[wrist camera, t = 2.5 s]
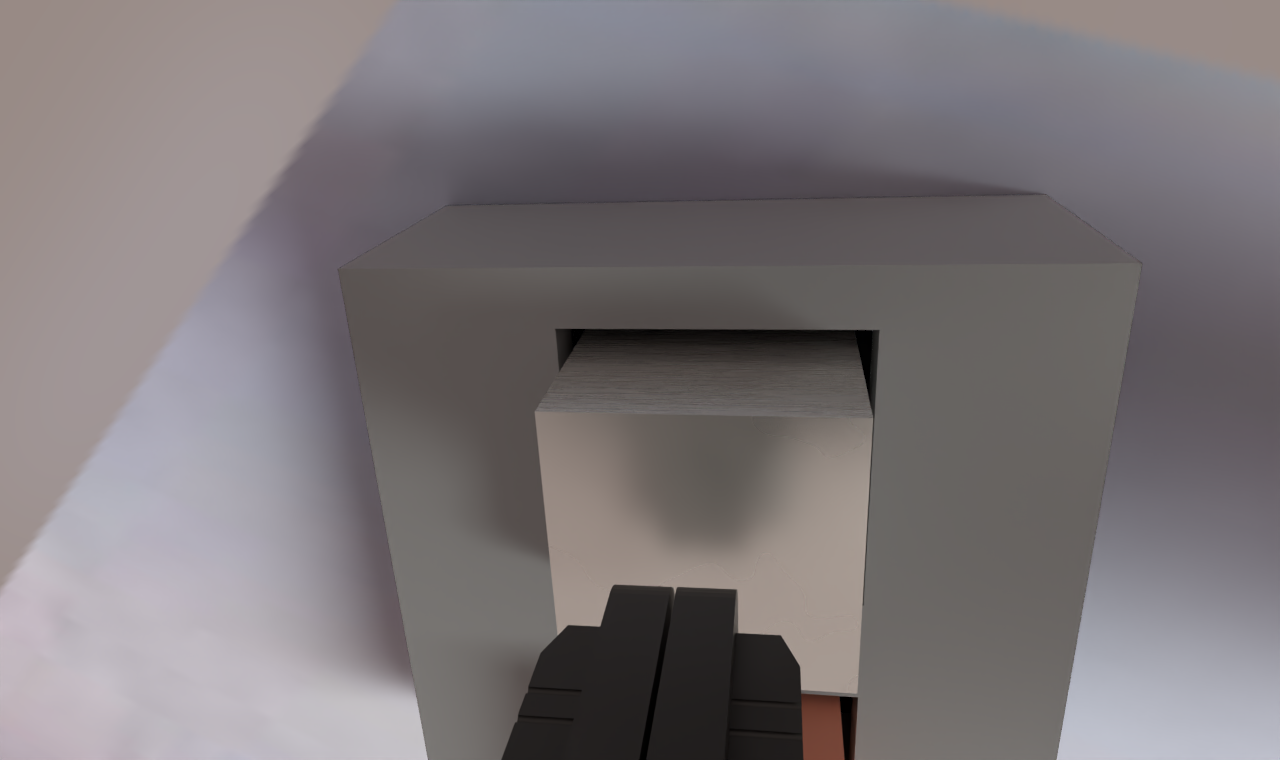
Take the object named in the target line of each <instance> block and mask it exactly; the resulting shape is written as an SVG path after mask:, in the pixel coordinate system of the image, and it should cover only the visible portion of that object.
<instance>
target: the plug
mask: <svg viewBox="0 0 1280 760" xmlns="http://www.w3.org/2000/svg"><path fill="white" fill-rule="evenodd" d="M535 420H536V430H537V439H538V449H539V459H540V468H541V478H542V488H543V498H544V507H545V517H546V527H547V537H548V546H549V556H550V566H551V576H552V585H553V595H554V605H555V614H556V624H557V634H558V635H559V634H560V633H561V632H562V631H563V630H564V629H565V628H566V627H567V625H579V626H599V627H600V626H601V622H602V619H603V615H604V612H605V608H606V605H607V601H608V598H609V594H610V591H611V588H612V586H613V585H615V584H616V585H639V586H663V587H673V588H674V592H675V593H676V589H677V587H693V588H717V589H737V592H738V633H746V634H767V635H781V636H782V638H783V639H784V641H785V643H786V644H787V646H788V647H789V649H790V651H791V652H792V654H793V656H794V657H795V659H796V661H797V662H798V664H799V665H800V672H801V690H809V691H824V692H839V693H854V694H857V690H858V673H859V656H860V638H861V621H862V604H863V586H864V569H865V552H866V534H867V517H868V500H869V483H870V465H871V448H872V431H873V415H872V410H871V406H870V401H869V396H868V392H867V387H866V382H865V378H864V373H863V369H862V364H861V359H860V355H859V350H858V345H857V341H856V336H855V331H854V330H759V329H586V330H585V331H584V333H583V335H582V336H581V338H580V339H579V341H578V343H577V344H576V346H575V348H574V349H573V351H572V352H571V354H570V356H569V357H568V359H567V360H566V362H565V364H564V365H563V367H562V368H561V370H560V372H559V373H558V375H557V377H556V378H555V380H554V381H553V383H552V385H551V386H550V388H549V389H548V391H547V393H546V394H545V396H544V398H543V399H542V401H541V402H540V404H539V406H538V407H537V409H536V410H535Z"/></svg>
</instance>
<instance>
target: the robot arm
mask: <svg viewBox="0 0 1280 760" xmlns="http://www.w3.org/2000/svg"><path fill="white" fill-rule="evenodd" d="M501 760H804V759H803V730H802V701H801V672H800V665H799V664H798V662H797V661H796V659H795V657H794V656H793V654H792V652H791V651H790V649H789V647H788V646H787V644H786V643H785V641H784V639H783V638H782V636H781V635H767V634H746V633H738V592H737V589H717V588H693V587H677V589H676V593H675V592H674V588H673V587H663V586H639V585H616V584H615V585H613V586H612V588H611V591H610V594H609V598H608V601H607V605H606V608H605V612H604V615H603V619H602V622H601V626H600V627H599V626H579V625H567V627H566V628H565V629H564V630H563V631H562V632H561V633H560V634H559V635H558V636H557V637H556V638H555V639H554V640H553V641H552V642H551V643H550V644H549V645H548V646H547V647H546V648H545V649H544V650H543V651H542V652H541V653H540V656H539V658H538V661H537V664H536V667H535V669H534V672H533V675H532V677H531V680H530V683H529V686H528V693H526V694H525V696H524V699H523V702H522V705H521V707H520V710H519V713H518V720H517V722H515V724H514V726H513V729H512V732H511V734H510V737H509V740H508V743H507V745H506V748H505V751H504V753H503V756H502V759H501Z"/></svg>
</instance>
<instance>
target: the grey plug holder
mask: <svg viewBox="0 0 1280 760" xmlns="http://www.w3.org/2000/svg"><path fill="white" fill-rule="evenodd" d="M1141 268H1142V263H1141V262H1140V261H1138V260H1137V259H1136V258H1134V257H1133V256H1131V255H1130V254H1129V253H1127V252H1126V251H1124V250H1123V249H1122V248H1120V247H1119V246H1117V245H1116V244H1115V243H1113V242H1112V241H1110V240H1109V239H1108V238H1106V237H1105V236H1103V235H1102V234H1101V233H1099V232H1098V231H1096V230H1095V229H1094V228H1092V227H1091V226H1089V225H1088V224H1087V223H1085V222H1084V221H1082V220H1081V219H1080V218H1078V217H1077V216H1075V215H1074V214H1073V213H1071V212H1070V211H1068V210H1067V209H1066V208H1064V207H1063V206H1061V205H1060V204H1059V203H1057V202H1056V201H1054V200H1053V199H1052V198H1050V197H1049V196H1047V195H1046V194H1036V195H982V196H929V197H875V198H821V199H768V200H714V201H660V202H607V203H553V204H500V205H447V206H445V207H443V208H441V209H440V210H438V211H436V212H435V213H433V214H431V215H429V216H428V217H426V218H424V219H423V220H421V221H419V222H417V223H416V224H414V225H412V226H411V227H409V228H407V229H406V230H404V231H402V232H400V233H399V234H397V235H395V236H394V237H392V238H390V239H388V240H387V241H385V242H383V243H382V244H380V245H378V246H376V247H375V248H373V249H371V250H370V251H368V252H366V253H364V254H363V255H361V256H359V257H358V258H356V259H354V260H352V261H351V262H349V263H347V264H346V265H344V266H342V267H340V268H339V269H338V271H339V277H340V282H341V288H342V293H343V299H344V304H345V310H346V315H347V320H348V326H349V331H350V337H351V342H352V348H353V353H354V359H355V364H356V370H357V375H358V380H359V386H360V391H361V397H362V402H363V408H364V413H365V419H366V424H367V429H368V435H369V440H370V446H371V451H372V457H373V462H374V468H375V473H376V479H377V484H378V489H379V495H380V500H381V506H382V511H383V517H384V522H385V528H386V533H387V539H388V544H389V549H390V555H391V560H392V566H393V571H394V577H395V582H396V588H397V593H398V598H399V604H400V609H401V615H402V620H403V626H404V631H405V637H406V642H407V648H408V653H409V658H410V664H411V669H412V675H413V680H414V686H415V691H416V697H417V702H418V707H419V713H420V718H421V724H422V729H423V735H424V740H425V746H426V751H427V757H428V760H501V759H502V756H503V753H504V751H505V748H506V745H507V743H508V740H509V737H510V734H511V732H512V729H513V726H514V724H515V722H517V720H518V713H519V710H520V707H521V705H522V702H523V699H524V696H525V694H526V693H528V686H529V683H530V680H531V677H532V675H533V672H534V669H535V667H536V664H537V661H538V658H539V656H540V653H541V652H542V651H543V650H544V649H545V648H546V647H547V646H548V645H549V644H550V643H551V642H552V641H553V640H554V639H555V638H556V637H557V636H558V634H557V624H556V614H555V605H554V595H553V585H552V576H551V566H550V556H549V546H548V537H547V527H546V517H545V507H544V498H543V488H542V478H541V468H540V459H539V449H538V439H537V430H536V420H535V410H536V409H537V407H538V406H539V404H540V402H541V401H542V399H543V398H544V396H545V394H546V393H547V391H548V389H549V388H550V386H551V385H552V383H553V381H554V380H555V378H556V377H557V375H558V373H559V372H560V370H561V368H562V367H563V365H564V364H565V362H566V360H567V359H568V357H569V356H570V354H571V352H572V351H573V349H572V336H571V329H759V330H872V347H871V365H870V383H869V401H870V406H871V410H872V415H873V431H872V448H871V465H870V483H869V500H868V517H867V534H866V552H865V569H864V586H863V604H862V621H861V638H860V656H859V673H858V690H857V694H854V693H839V692H824V691H809V690H801V694H816V695H831V696H846V697H852V710H851V713H841V722H842V734H843V747H844V759H845V760H1056V759H1057V753H1058V748H1059V742H1060V736H1061V730H1062V725H1063V719H1064V713H1065V707H1066V701H1067V696H1068V690H1069V684H1070V678H1071V672H1072V667H1073V661H1074V655H1075V649H1076V644H1077V638H1078V632H1079V626H1080V620H1081V615H1082V609H1083V603H1084V597H1085V592H1086V586H1087V580H1088V574H1089V568H1090V563H1091V557H1092V551H1093V545H1094V540H1095V534H1096V528H1097V522H1098V516H1099V511H1100V505H1101V499H1102V493H1103V487H1104V482H1105V476H1106V470H1107V464H1108V459H1109V453H1110V447H1111V441H1112V435H1113V430H1114V424H1115V418H1116V412H1117V407H1118V401H1119V395H1120V389H1121V383H1122V378H1123V372H1124V366H1125V360H1126V354H1127V349H1128V343H1129V337H1130V331H1131V326H1132V320H1133V314H1134V308H1135V302H1136V297H1137V291H1138V285H1139V279H1140V274H1141Z"/></svg>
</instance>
